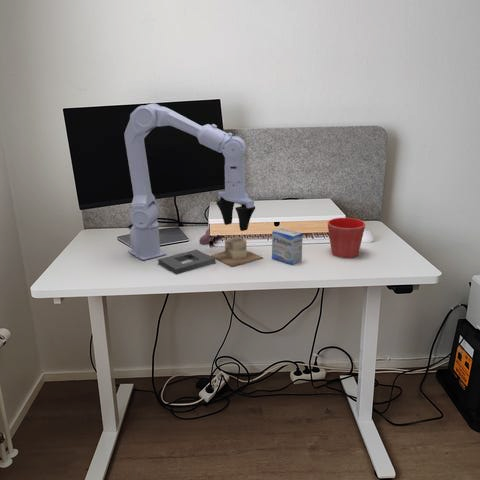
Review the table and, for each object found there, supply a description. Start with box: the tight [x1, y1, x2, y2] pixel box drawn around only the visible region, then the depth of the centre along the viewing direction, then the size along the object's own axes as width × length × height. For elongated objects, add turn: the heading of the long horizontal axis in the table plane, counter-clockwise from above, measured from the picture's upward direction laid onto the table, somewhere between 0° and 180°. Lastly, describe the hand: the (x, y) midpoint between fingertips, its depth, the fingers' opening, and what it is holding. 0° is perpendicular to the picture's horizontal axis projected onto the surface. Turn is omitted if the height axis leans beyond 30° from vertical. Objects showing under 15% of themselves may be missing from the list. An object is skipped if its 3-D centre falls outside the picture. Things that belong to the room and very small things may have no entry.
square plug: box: [224, 236, 248, 260], centre depth 149 cm, size 4×4×5 cm
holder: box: [157, 249, 217, 275], centre depth 146 cm, size 10×13×2 cm
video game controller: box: [198, 228, 218, 245], centre depth 165 cm, size 10×5×7 cm, turn 170°
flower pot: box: [327, 217, 366, 259], centre depth 150 cm, size 11×11×10 cm
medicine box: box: [271, 228, 304, 266], centre depth 146 cm, size 8×4×9 cm, turn 47°
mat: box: [210, 250, 264, 268], centre depth 150 cm, size 11×11×1 cm
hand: (235, 227), depth 147 cm, fingers open, 7 cm apart
